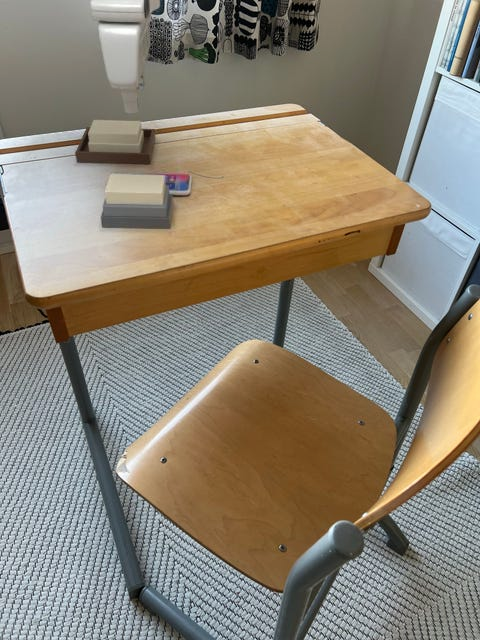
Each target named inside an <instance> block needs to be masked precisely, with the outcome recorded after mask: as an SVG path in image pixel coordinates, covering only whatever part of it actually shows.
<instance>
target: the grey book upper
mask: <svg viewBox="0 0 480 640" xmlns="http://www.w3.org/2000/svg"><path fill="white" fill-rule="evenodd" d="M168 202H169V185H166V188H165V195H164V201H163V205H137V204H106V198H105V197H104V201H103V204H102V211H103V213H104V216H124V217H166V216H167V209H168Z"/></svg>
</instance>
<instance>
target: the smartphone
mask: <svg viewBox="0 0 480 640" xmlns="http://www.w3.org/2000/svg"><path fill="white" fill-rule="evenodd" d="M112 174H134V175H165V184H166V185H169V194H173V196H188V195H191V193H192V183H193V182H192V181H193V176H192V175H191V174H189V173H162V172H160V173H159V172H127V171H115V172H113V173H112Z"/></svg>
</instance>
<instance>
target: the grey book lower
mask: <svg viewBox="0 0 480 640" xmlns="http://www.w3.org/2000/svg"><path fill="white" fill-rule="evenodd" d="M173 197H174V195H173V194H169V202H168V209H167V216H166V217H124V216H104V213H103V210H102V212H101V215H100V222H101V227H102V228H105V229H149V230H151V229H157V230H158V229H159V230H164V229H165V230H170V229H171V224H172V216H173V210H174V209H173V208H174V207H173V206H174V198H173Z"/></svg>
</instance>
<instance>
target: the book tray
mask: <svg viewBox="0 0 480 640" xmlns="http://www.w3.org/2000/svg"><path fill="white" fill-rule="evenodd" d="M90 127H91V126H86V128H85V130H84V133H83V134H82V137H81V139H80V141H79V143H78V146H77V147H76V150H75V151H74V154H75V160H76V163H79V164H114V165H115V164H119V165H120V164H121V165H151V162H152V158H153V152H154V148H155V144H156V138H157V137H156V128H142V130H143V133H144V143H143V147H142V151H141V153H124V152H89V146H88V143H89V136H88V132H89V130H90Z"/></svg>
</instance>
